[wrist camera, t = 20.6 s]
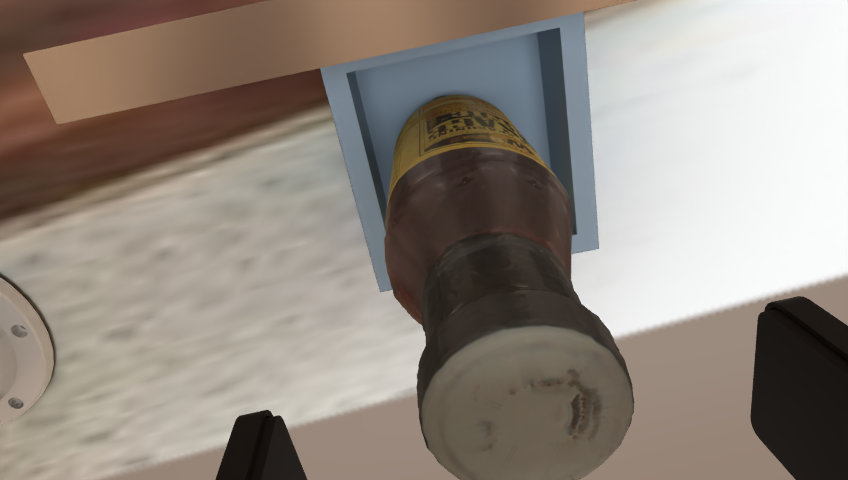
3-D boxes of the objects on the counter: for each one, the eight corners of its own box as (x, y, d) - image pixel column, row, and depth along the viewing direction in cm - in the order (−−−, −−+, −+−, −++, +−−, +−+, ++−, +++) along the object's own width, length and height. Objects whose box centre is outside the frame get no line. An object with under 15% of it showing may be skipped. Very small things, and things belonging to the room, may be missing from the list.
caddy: (382, 249, 31) (380, 292, 27) (329, 43, 26) (315, 53, 22) (568, 211, 31) (599, 248, 26) (549, -4, 26) (582, -5, 21)
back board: (195, 72, 27) (57, 124, 16) (179, 30, 26) (22, 54, 15) (675, -31, 26) (882, -53, 15) (675, -79, 25) (894, -138, 14)
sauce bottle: (534, 121, 27) (804, 356, 9) (477, 223, 30) (608, 573, 12) (419, 63, 26) (478, 213, 8) (368, 176, 28) (324, 492, 10)
